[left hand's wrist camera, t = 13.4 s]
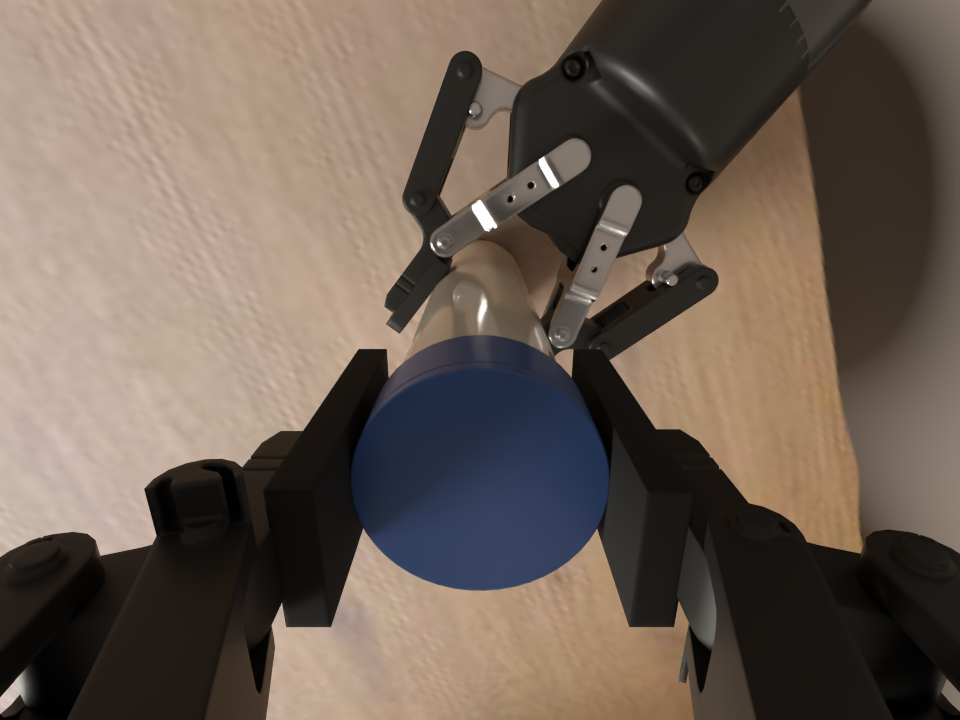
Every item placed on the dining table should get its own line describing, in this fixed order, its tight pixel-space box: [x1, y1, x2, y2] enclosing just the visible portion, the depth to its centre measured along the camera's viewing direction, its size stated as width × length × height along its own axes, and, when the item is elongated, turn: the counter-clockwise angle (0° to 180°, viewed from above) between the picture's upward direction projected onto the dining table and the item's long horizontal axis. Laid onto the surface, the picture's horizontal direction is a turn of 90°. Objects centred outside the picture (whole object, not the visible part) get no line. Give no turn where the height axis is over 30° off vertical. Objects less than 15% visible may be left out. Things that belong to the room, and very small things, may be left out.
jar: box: [403, 240, 557, 363], centre depth 20 cm, size 5×5×19 cm
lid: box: [350, 335, 610, 591], centre depth 11 cm, size 5×5×2 cm
